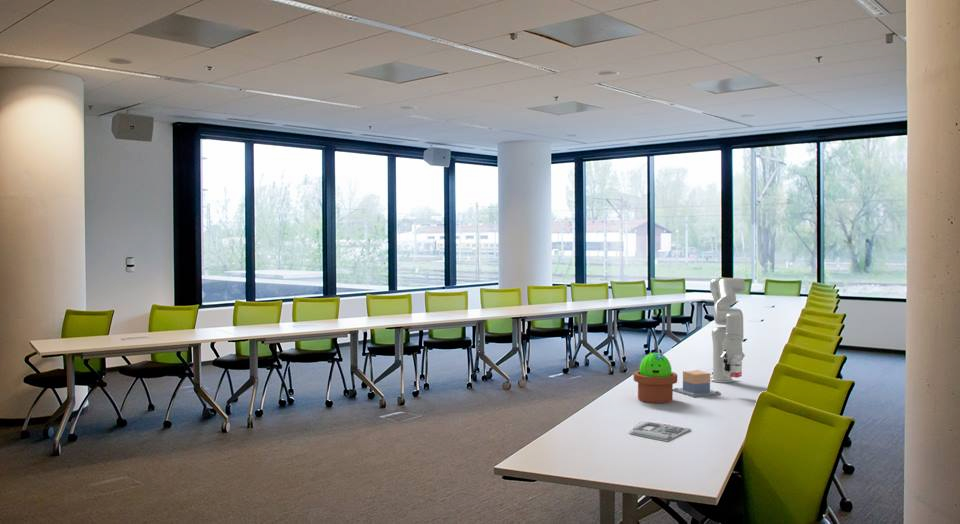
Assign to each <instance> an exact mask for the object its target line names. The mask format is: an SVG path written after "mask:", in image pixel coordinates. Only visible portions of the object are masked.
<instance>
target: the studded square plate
mask: <svg viewBox="0 0 960 524" xmlns="http://www.w3.org/2000/svg"><path fill="white" fill-rule="evenodd" d="M710 378H711V373H710V372H707V371H701V370H700V369H699V370H686V371H684V370H683V371H682V387H680V388H678V387H674V388H673V392H675V393H677V394H681V395H684V396H687V395H688V396H687V397H692V398H702V397H703V398H704V397H711V395H713V396H720V395H722V392H720V391H718V390H712V389H711V380H710Z"/></svg>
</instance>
